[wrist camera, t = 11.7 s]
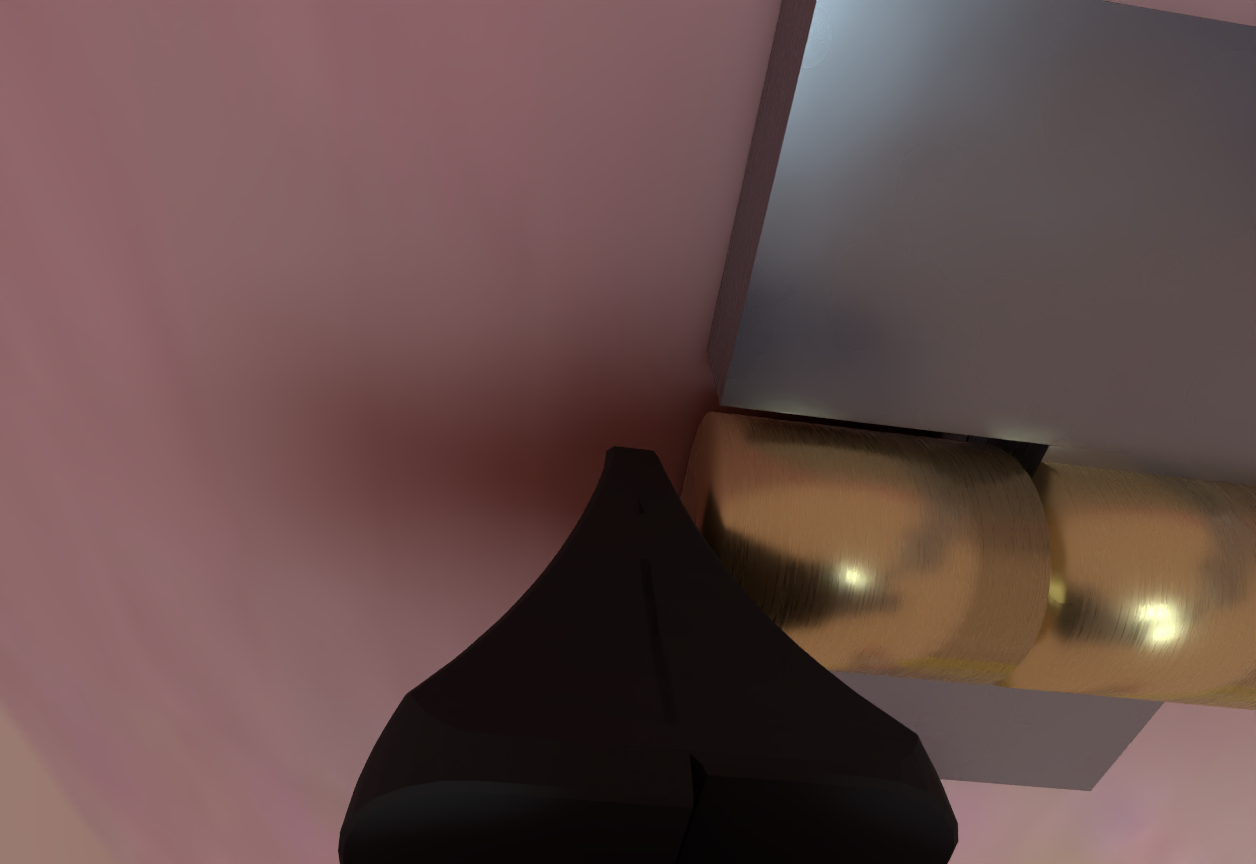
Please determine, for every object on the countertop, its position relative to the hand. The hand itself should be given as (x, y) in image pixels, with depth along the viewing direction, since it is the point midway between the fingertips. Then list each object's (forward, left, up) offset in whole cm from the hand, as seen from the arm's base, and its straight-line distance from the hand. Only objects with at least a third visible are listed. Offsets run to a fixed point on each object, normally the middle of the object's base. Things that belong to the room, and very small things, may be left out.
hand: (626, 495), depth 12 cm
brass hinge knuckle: (-6, +2, -1) cm, 7 cm away
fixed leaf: (-6, -3, -1) cm, 7 cm away
